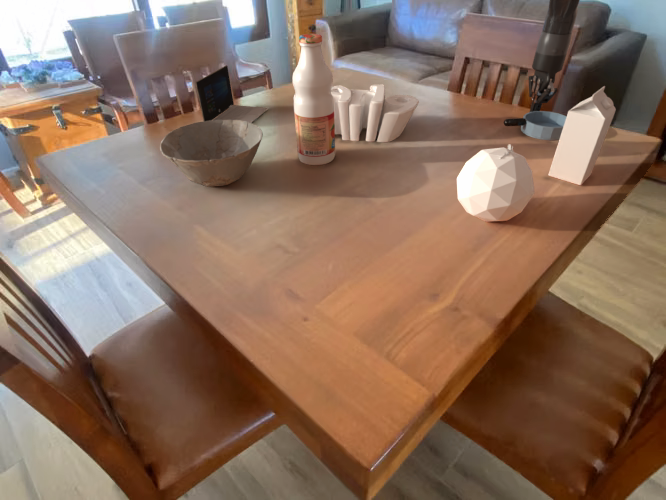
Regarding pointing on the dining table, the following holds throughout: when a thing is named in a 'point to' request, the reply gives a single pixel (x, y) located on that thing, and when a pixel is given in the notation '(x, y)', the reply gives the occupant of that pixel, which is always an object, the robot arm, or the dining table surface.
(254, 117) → the laptop
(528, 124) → the pan
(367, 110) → the wavy white extrusion
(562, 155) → the milk carton
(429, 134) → the dining table surface
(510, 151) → the geodesic sphere
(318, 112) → the fruit juice
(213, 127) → the ceramic bowl
